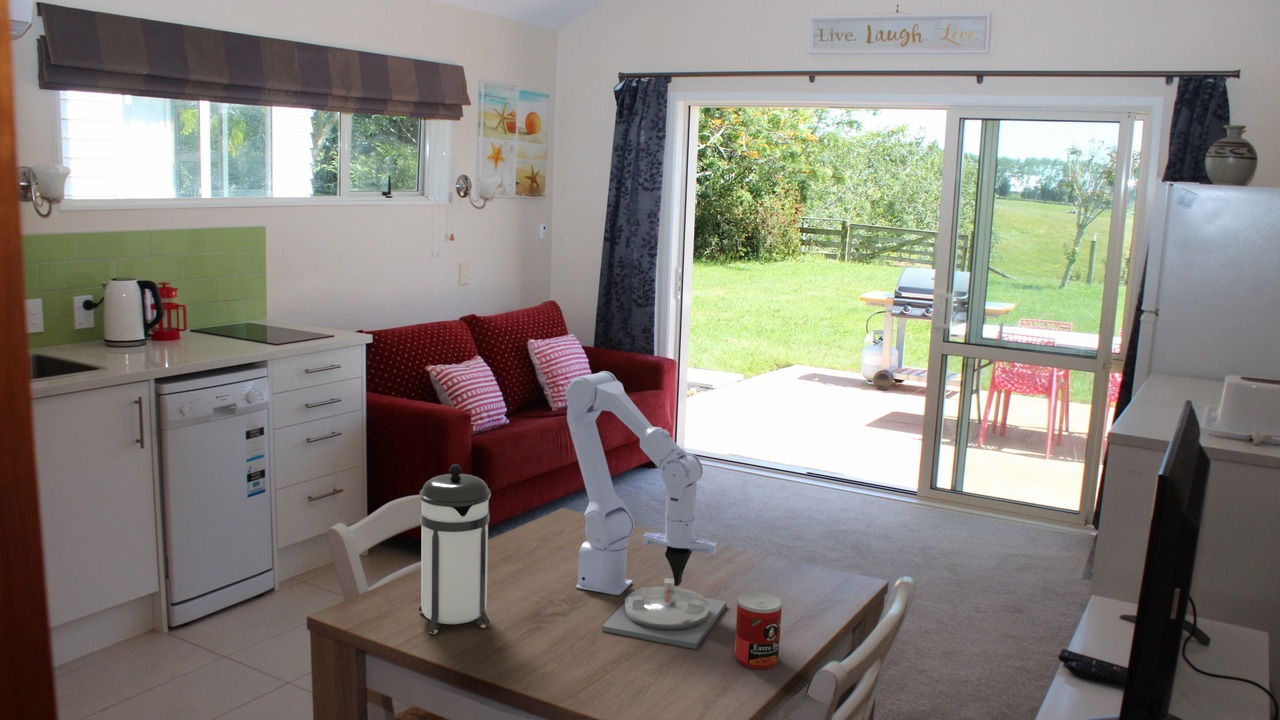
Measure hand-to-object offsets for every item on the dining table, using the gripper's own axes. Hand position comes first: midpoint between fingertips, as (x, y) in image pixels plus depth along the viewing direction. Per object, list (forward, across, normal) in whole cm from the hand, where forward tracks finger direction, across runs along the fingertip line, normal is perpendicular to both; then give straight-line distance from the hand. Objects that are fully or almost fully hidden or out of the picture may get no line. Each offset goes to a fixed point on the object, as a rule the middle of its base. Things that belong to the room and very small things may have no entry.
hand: (677, 584), depth 202 cm
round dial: (+3, 0, +6) cm, 7 cm away
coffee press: (+5, +37, +24) cm, 44 cm away
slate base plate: (+4, 0, +6) cm, 8 cm away
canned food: (+5, -20, +16) cm, 26 cm away
